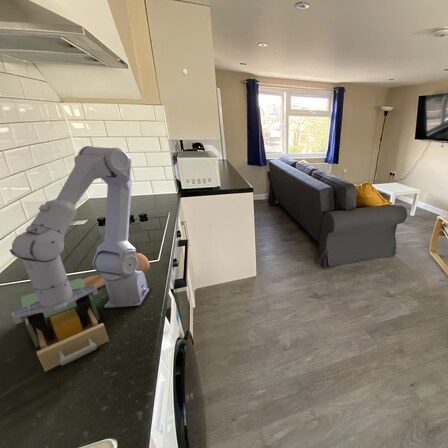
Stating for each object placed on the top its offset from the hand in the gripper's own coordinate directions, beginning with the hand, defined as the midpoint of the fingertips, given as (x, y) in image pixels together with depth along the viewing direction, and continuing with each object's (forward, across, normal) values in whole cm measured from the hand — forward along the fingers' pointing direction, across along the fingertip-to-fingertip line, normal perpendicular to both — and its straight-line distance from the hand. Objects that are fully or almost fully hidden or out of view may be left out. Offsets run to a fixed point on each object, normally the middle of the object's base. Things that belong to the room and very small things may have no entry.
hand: (68, 330), depth 63 cm
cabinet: (+3, 0, +10) cm, 10 cm away
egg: (+3, +21, +18) cm, 28 cm away
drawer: (+2, 0, -4) cm, 4 cm away
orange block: (+1, 0, 0) cm, 1 cm away
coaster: (+2, +10, +24) cm, 26 cm away
